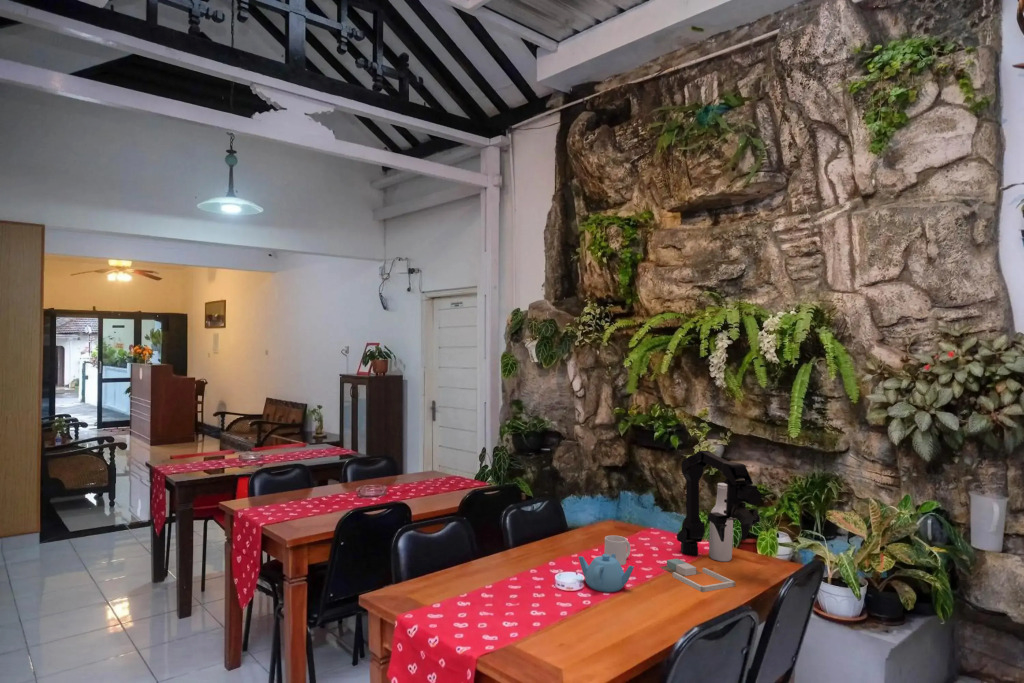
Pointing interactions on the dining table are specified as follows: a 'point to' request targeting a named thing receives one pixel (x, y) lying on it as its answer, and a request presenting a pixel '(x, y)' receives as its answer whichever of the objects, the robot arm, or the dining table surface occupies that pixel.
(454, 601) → the dining table surface
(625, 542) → the mug
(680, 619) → the dining table surface
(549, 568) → the dining table surface
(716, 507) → the alcohol
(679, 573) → the board
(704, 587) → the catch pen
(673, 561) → the sage green block
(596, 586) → the teapot
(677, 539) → the robot arm
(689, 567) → the white tile
